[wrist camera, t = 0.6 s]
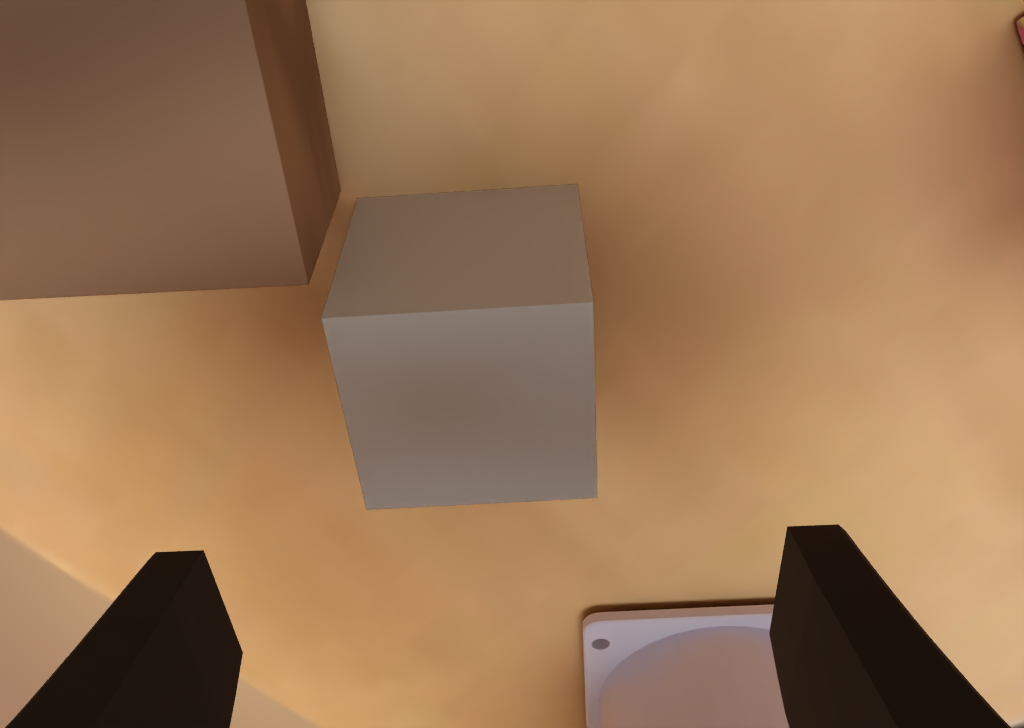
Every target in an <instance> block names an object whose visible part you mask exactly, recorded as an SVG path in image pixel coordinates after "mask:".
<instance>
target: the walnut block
mask: <svg viewBox="0 0 1024 728" xmlns="http://www.w3.org/2000/svg"><path fill="white" fill-rule="evenodd" d="M340 191H341V189H340V184H339V178H338V173H337V168H336V162H335V157H334V151H333V146H332V140H331V135H330V130H329V124H328V119H327V113H326V108H325V103H324V97H323V92H322V86H321V81H320V75H319V70H318V65H317V59H316V54H315V48H314V43H313V38H312V32H311V27H310V21H309V16H308V11H307V5H306V0H0V300H15V299H35V298H55V297H75V296H95V295H115V294H135V293H155V292H175V291H194V290H214V289H234V288H254V287H274V286H294V285H309V282H310V279H311V276H312V273H313V270H314V267H315V264H316V261H317V258H318V256H319V253H320V250H321V247H322V244H323V241H324V238H325V235H326V232H327V229H328V226H329V223H330V220H331V218H332V215H333V212H334V209H335V206H336V203H337V200H338V197H339V194H340Z"/></svg>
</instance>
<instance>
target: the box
mask: <svg viewBox="0 0 1024 728" xmlns="http://www.w3.org/2000/svg"><path fill="white" fill-rule="evenodd" d="M1016 24H1017V27H1018V31H1019V34H1020V37H1021V39H1022V42H1023V45H1024V16H1023V17H1022V18H1020V19H1019V20H1018V21H1017V23H1016Z"/></svg>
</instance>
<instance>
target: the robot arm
mask: <svg viewBox="0 0 1024 728" xmlns="http://www.w3.org/2000/svg"><path fill="white" fill-rule="evenodd" d="M582 627H583V653H584V679H585V706H586V728H1011V727H1010V726H1009V725H1008V724H1007V723H1006V722H1005V721H1004V720H1003V719H1002V718H1001V717H1000V716H999V715H998V714H997V712H996V711H995V710H994V709H993V708H992V707H991V706H990V705H989V704H988V703H987V702H986V700H985V699H984V698H983V697H982V696H981V695H980V694H979V693H978V692H977V691H976V690H975V688H974V687H973V686H972V685H971V684H970V683H969V682H968V680H967V679H966V678H965V677H964V676H963V675H962V674H961V672H960V671H959V670H958V669H957V668H956V667H955V666H954V664H953V663H952V662H951V661H950V660H949V659H948V658H947V656H946V655H945V654H944V653H943V652H942V651H941V650H940V648H939V647H938V646H937V645H936V644H935V643H934V642H933V640H932V639H931V638H930V637H929V636H928V634H927V633H926V632H925V631H924V630H923V628H922V627H921V626H920V625H919V624H918V622H917V621H916V620H915V619H914V618H913V616H912V615H911V614H910V613H909V611H908V610H907V609H906V608H905V607H904V605H903V604H902V603H901V602H900V600H899V599H898V598H897V597H896V595H895V594H894V593H893V592H892V590H891V589H890V588H889V587H888V585H887V584H886V583H885V582H884V580H883V579H882V578H881V577H880V575H879V574H878V573H877V571H876V570H875V569H874V568H873V566H872V565H871V564H870V562H869V561H868V560H867V558H866V557H865V556H864V555H863V553H862V552H861V551H860V549H859V548H858V547H857V545H856V544H855V543H854V541H853V540H852V539H851V537H850V536H849V535H848V534H847V532H846V531H845V530H844V529H843V528H842V527H840V526H839V525H816V526H791V527H787V532H786V538H785V544H784V550H783V555H782V561H781V567H780V573H779V579H778V585H777V591H776V596H775V602H774V604H769V605H747V606H725V607H703V608H681V609H659V610H637V611H615V612H598V613H593V614H591V615H589V616H587V617H586V618H585V619H584V620H583V624H582ZM242 654H243V652H242V649H241V647H240V644H239V642H238V639H237V636H236V634H235V631H234V629H233V626H232V623H231V621H230V618H229V616H228V613H227V610H226V608H225V605H224V602H223V600H222V597H221V595H220V592H219V589H218V587H217V584H216V582H215V579H214V576H213V574H212V571H211V569H210V566H209V563H208V561H207V558H206V556H205V553H204V550H202V551H178V552H156V553H155V554H154V555H153V556H152V557H151V558H150V559H149V560H148V561H147V563H146V564H145V565H144V566H143V567H142V568H141V570H140V571H139V572H138V573H137V574H136V575H135V577H134V578H133V579H132V580H131V581H130V583H129V584H128V585H127V586H126V588H125V589H124V590H123V591H122V592H121V594H120V595H119V596H118V597H117V598H116V600H115V601H114V602H113V603H112V604H111V606H110V607H109V608H108V609H107V610H106V612H105V613H104V614H103V615H102V617H101V618H100V619H99V620H98V621H97V623H96V624H95V625H94V626H93V627H92V629H91V630H90V631H89V632H88V633H87V635H86V636H85V637H84V638H83V639H82V641H81V642H80V643H79V644H78V645H77V646H76V648H75V649H74V650H73V651H72V652H71V654H70V655H69V656H68V657H67V658H66V659H65V660H64V662H63V663H62V664H61V665H60V666H59V667H58V669H57V670H56V671H55V672H54V673H53V674H52V676H51V677H50V678H49V679H48V680H47V681H46V682H45V683H44V685H43V686H42V687H41V688H40V689H39V690H38V692H37V693H36V694H35V695H34V696H33V697H32V698H31V700H30V701H29V702H28V703H27V704H26V705H25V707H24V708H23V709H22V710H21V711H20V712H19V713H18V714H17V716H16V717H15V718H14V719H13V720H12V721H11V722H10V723H9V724H8V725H7V726H6V727H5V728H229V727H230V722H231V717H232V712H233V706H234V701H235V696H236V690H237V684H238V678H239V672H240V666H241V660H242Z"/></svg>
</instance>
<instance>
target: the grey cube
mask: <svg viewBox="0 0 1024 728" xmlns="http://www.w3.org/2000/svg"><path fill="white" fill-rule="evenodd" d="M321 320H322V324H323V328H324V333H325V337H326V341H327V345H328V349H329V354H330V358H331V362H332V366H333V371H334V375H335V379H336V383H337V387H338V392H339V396H340V400H341V404H342V408H343V413H344V417H345V421H346V425H347V429H348V434H349V438H350V442H351V446H352V451H353V455H354V459H355V463H356V467H357V472H358V476H359V480H360V484H361V488H362V493H363V497H364V501H365V505H366V510H371V509H391V508H411V507H431V506H450V505H470V504H490V503H509V502H529V501H549V500H569V499H588V498H597V456H596V405H595V354H594V304H593V295H592V288H591V280H590V273H589V265H588V258H587V251H586V243H585V236H584V229H583V221H582V214H581V206H580V199H579V192H578V184H568V185H552V186H537V187H522V188H506V189H491V190H476V191H460V192H445V193H430V194H414V195H399V196H384V197H368V198H358V199H357V202H356V206H355V209H354V212H353V216H352V219H351V222H350V225H349V229H348V232H347V235H346V238H345V242H344V245H343V248H342V252H341V255H340V258H339V261H338V265H337V268H336V271H335V275H334V278H333V281H332V284H331V288H330V291H329V294H328V298H327V301H326V304H325V307H324V311H323V314H322V317H321Z"/></svg>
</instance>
